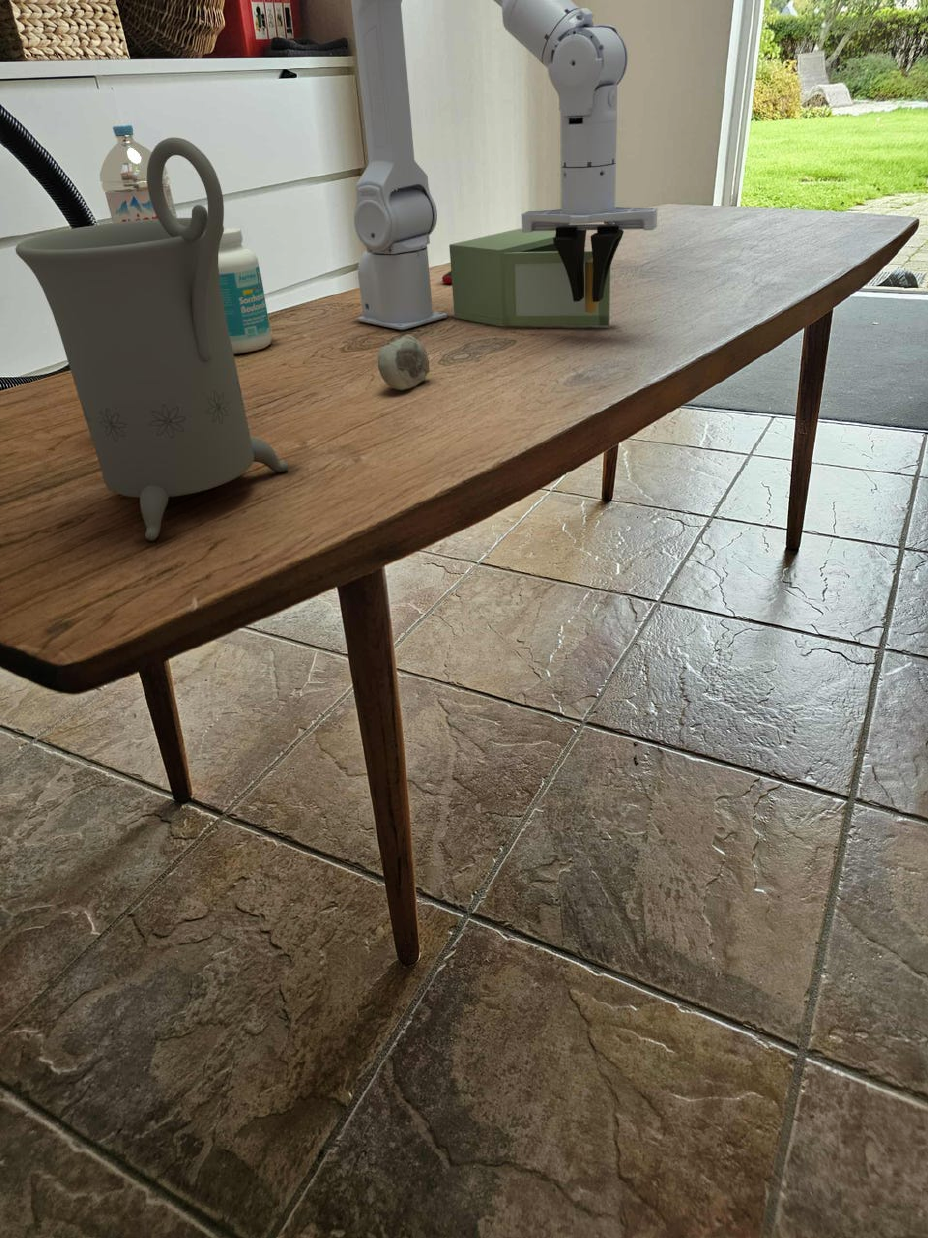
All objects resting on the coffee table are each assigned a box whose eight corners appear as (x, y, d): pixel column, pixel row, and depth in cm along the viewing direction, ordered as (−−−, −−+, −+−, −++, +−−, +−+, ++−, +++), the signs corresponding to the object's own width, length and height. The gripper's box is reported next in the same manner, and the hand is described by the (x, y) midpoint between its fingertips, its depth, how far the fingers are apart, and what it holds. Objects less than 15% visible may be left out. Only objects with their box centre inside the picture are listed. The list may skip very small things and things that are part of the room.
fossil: (402, 398, 87) (396, 347, 84) (374, 395, 88) (367, 345, 86) (434, 379, 92) (429, 330, 89) (406, 376, 93) (401, 329, 90)
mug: (44, 512, 69) (-84, 156, 55) (185, 448, 79) (106, 134, 66) (209, 561, 59) (104, 148, 46) (345, 481, 70) (291, 124, 56)
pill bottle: (259, 355, 105) (235, 234, 97) (203, 356, 106) (175, 237, 99) (282, 339, 111) (261, 224, 104) (228, 339, 112) (205, 226, 105)
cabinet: (503, 326, 108) (499, 249, 103) (454, 317, 114) (449, 244, 109) (571, 305, 115) (571, 232, 111) (522, 297, 121) (520, 228, 116)
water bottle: (223, 363, 103) (170, 120, 89) (190, 381, 97) (128, 125, 84) (174, 362, 105) (116, 124, 92) (139, 379, 99) (72, 130, 86)
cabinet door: (496, 336, 103) (492, 261, 99) (507, 324, 108) (504, 252, 103) (602, 336, 100) (603, 259, 95) (609, 324, 104) (610, 250, 100)
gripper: (510, 172, 90) (515, 306, 98) (649, 166, 85) (644, 308, 93) (531, 164, 96) (535, 292, 103) (663, 158, 91) (657, 293, 98)
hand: (588, 299), depth 98 cm, fingers closed
